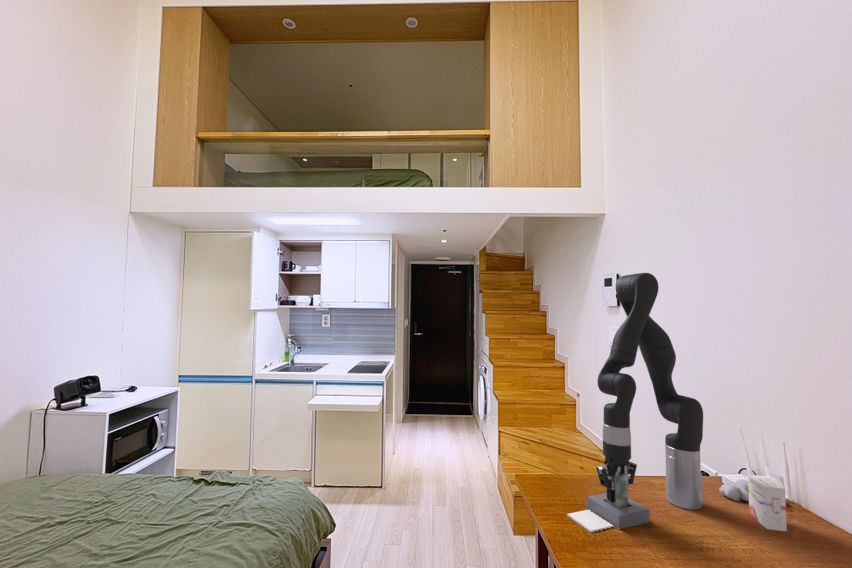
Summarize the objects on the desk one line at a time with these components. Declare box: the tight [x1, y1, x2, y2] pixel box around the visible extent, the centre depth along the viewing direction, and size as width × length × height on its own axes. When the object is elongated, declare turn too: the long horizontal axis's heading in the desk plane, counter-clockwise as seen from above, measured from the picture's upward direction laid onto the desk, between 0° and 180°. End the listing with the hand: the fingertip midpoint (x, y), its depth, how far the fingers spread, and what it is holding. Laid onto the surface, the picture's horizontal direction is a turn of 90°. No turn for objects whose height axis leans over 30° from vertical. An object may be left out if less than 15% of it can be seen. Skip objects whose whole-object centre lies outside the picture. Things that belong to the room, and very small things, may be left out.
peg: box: [605, 473, 629, 509], centre depth 112 cm, size 4×4×12 cm
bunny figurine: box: [718, 479, 749, 502], centre depth 125 cm, size 10×5×15 cm
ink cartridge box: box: [747, 465, 788, 532], centre depth 110 cm, size 9×5×15 cm, turn 168°
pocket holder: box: [586, 492, 650, 530], centre depth 111 cm, size 12×12×4 cm
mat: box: [566, 509, 614, 534], centre depth 107 cm, size 8×9×1 cm
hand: (617, 500), depth 112 cm, fingers closed on peg, 4 cm apart
